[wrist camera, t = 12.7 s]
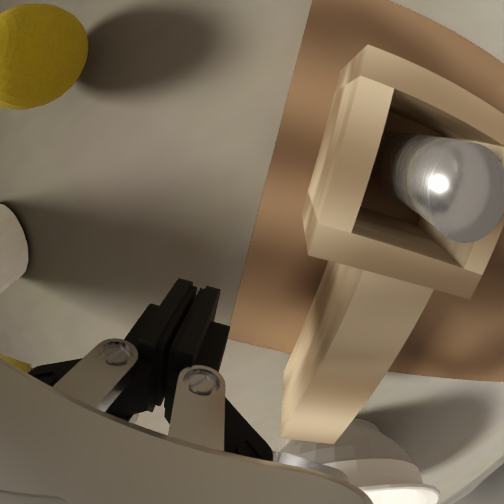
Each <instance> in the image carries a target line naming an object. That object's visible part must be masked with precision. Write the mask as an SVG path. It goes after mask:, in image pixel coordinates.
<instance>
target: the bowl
mask: <svg viewBox="0 0 504 504" xmlns="http://www.w3.org/2000/svg"><path fill="white" fill-rule="evenodd" d="M282 451H283V452H286V453H289V454H292V455H295V456H298V457H301V458H304V459H307V460H310V461H313V462H317V463H320V464H323V465H327V466H330V467H334V468H337V469H339V470H341V471H342V472H343V473H345V474H346V475H347V477H348V479H349V481H350V484H352V485H354V486H356V487H358V488H359V489H361V490H362V491H363V492H365V493H366V494H367V495H368V496H369V498H370V499H371V501H372V502H373V504H437V503H438V501H439V499H440V491H439V490H438V489H437V488H436V487H434V486H430V485H426V484H423V481H422V478H421V474H420V471H419V468H418V467H417V466H416V464H415V462H414V461H413V459H412V458H411V456H410V455H409V454H408V453H407V452H406V451H405V450H403V449H402V448H401V447H400V446H399V445H398V444H397V443H396V442H395V441H393V440H391V439H390V438H388V437H387V436H385V435H383V434H381V433H380V431H379V429H378V427H377V426H376V425H375V424H373V423H371V422H369V421H366V420H362V419H357V418H354V419H353V420H352V422H351V423H350V424H349V426H348V427H347V428H346V429H345V431H344V432H343V433H342V434H341V436H340V437H339V438H338V439H337V441H336V442H335V443H334V444H327V443H318V442H310V441H302V440H295V439H287V441H286V444H285V447H284V448H283V449H282V450H280V451H279V452H278V453H280V454H281V453H282Z"/></svg>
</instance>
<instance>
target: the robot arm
mask: <svg viewBox="0 0 504 504" xmlns="http://www.w3.org/2000/svg"><path fill="white" fill-rule="evenodd" d="M196 290H197V287H195V286H193V282H191V281H187V280H184V279H180V278H179V279H178V280H177V281H176V283H175V284H174V286H173V287H172V289H171V290H170V292H169V293H168V294H167V296H166V297H165V299H164V300H163V302H162V303H161V305H160V306H158V305H155V304H150V305H149V306H148V307H147V308H146V310H145V311H144V312H143V314H142V315H141V317H140V318H139V319H138V321H137V322H136V324H135V325H134V326H133V328H132V329H131V331H130V332H129V333H128V335H127V336H126V338H125V339H124V340H123V339H116V338H114V339H107V340H104V341H102V342H101V343H99V344H98V345H97V346H96V347H95V348H93V349H92V350H91V351H90V352H89V353H88V354H87V355H86V356H85V357H84V358H82V359H76V360H70V361H65V362H59V363H53V364H47V365H41V366H38V367H35V368H32V365H31V364H28V363H25V362H22V361H18V360H15V359H12V358H10V357H7V356H4V355H1V354H0V504H373V502H372V501H371V499H370V498H369V496H368V495H367V494H366V493H365V492H363V491H362V490H361V489H359V488H358V487H356V486H354V485H352V484H350V481H349V479H348V477H347V475H346V474H345V473H343V472H342V471H341V470H339V469H337V468H334V467H330V466H327V465H323V464H320V463H317V462H313V461H310V460H307V459H304V458H301V457H298V456H295V455H292V454H289V453H286V452H283V451H282V453H281V454H280V453H277V452H275V451H272V449H271V448H270V447H269V445H268V444H267V443H266V442H265V441H264V439H263V438H262V437H261V436H260V435H259V434H258V433H257V432H256V431H255V430H254V429H253V428H252V427H251V426H250V424H249V423H248V422H247V421H246V420H245V419H244V418H243V417H242V416H241V414H240V413H239V412H238V411H237V410H236V409H235V408H234V407H233V405H232V404H231V403H230V402H229V401H228V400H227V398H226V397H225V381H224V379H223V377H222V375H221V374H220V373H218V372H219V369H220V365H221V362H222V358H223V354H224V350H225V347H226V343H227V339H228V335H229V331H230V327H231V326H227V325H223V324H220V323H216V322H214V318H215V314H216V309H217V304H218V300H219V295H220V289H216V288H213V287H209V286H206V288H205V289H202V288H200V290H199V292H198V294H197V295H196ZM195 296H196V297H195ZM164 397H165V401H164V408H165V416H164V417H165V418H166V420H167V421H168V423H169V424H170V427H169V433H168V436H167V435H164V434H161V433H158V432H155V431H152V430H150V429H147V428H144V427H141V426H138V425H136V424H134V423H135V422H136V420H137V418H138V416H139V413H140V412H144V411H150V412H153V410H154V407H155V405H158V406H161V404H162V402H163V399H164Z"/></svg>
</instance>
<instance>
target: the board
mask: <svg viewBox="0 0 504 504" xmlns="http://www.w3.org/2000/svg"><path fill="white" fill-rule="evenodd" d="M367 45H371V46H373V47H376V48H379V49H381V50H384V51H386V52H389V53H391V54H394V55H396V56H398V57H401V58H403V59H405V60H408V61H410V62H412V63H414V64H417V65H419V66H421V67H423V68H425V69H427V70H429V71H431V72H433V73H435V74H437V75H439V76H441V77H443V78H445V79H447V80H449V81H450V82H452V83H454V84H456V85H458V86H460V87H461V88H463V89H465V90H467V91H468V92H470V93H472V94H473V95H475V96H477V97H478V98H480V99H481V100H483V101H485V102H486V103H488V104H489V105H491V106H492V107H494V108H495V109H497V110H498V111H500V112H501V113H503V114H504V64H503V63H502V62H501V61H499V60H498V59H496V58H495V57H494V56H492V55H491V54H489V53H488V52H486V51H485V50H483V49H482V48H480V47H479V46H477V45H475V44H474V43H472V42H471V41H469V40H467V39H466V38H464V37H462V36H461V35H459V34H457V33H455V32H454V31H452V30H450V29H448V28H446V27H444V26H443V25H441V24H439V23H437V22H435V21H433V20H431V19H429V18H427V17H425V16H423V15H421V14H419V13H416V12H414V11H412V10H410V9H408V8H405V7H403V6H401V5H398V4H396V3H394V2H391V1H389V0H313V1H312V5H311V8H310V12H309V16H308V20H307V24H306V28H305V31H304V35H303V39H302V43H301V47H300V51H299V55H298V58H297V62H296V66H295V70H294V74H293V78H292V82H291V85H290V89H289V93H288V97H287V101H286V105H285V109H284V113H283V117H282V120H281V124H280V128H279V132H278V136H277V140H276V144H275V148H274V152H273V156H272V160H271V163H270V167H269V171H268V175H267V179H266V183H265V187H264V191H263V195H262V199H261V203H260V207H259V211H258V215H257V219H256V223H255V226H254V230H253V234H252V238H251V242H250V246H249V250H248V254H247V258H246V262H245V266H244V270H243V274H242V278H241V282H240V286H239V290H238V294H237V298H236V302H235V306H234V310H233V314H232V318H231V322H230V326H231V327H230V331H229V335H228V339H231V340H235V341H239V342H243V343H247V344H251V345H255V346H259V347H263V348H268V349H272V350H276V351H281V352H285V353H290V354H292V352H293V349H294V347H295V345H296V342H297V340H298V338H299V335H300V333H301V330H302V328H303V325H304V323H305V320H306V318H307V315H308V313H309V310H310V308H311V305H312V303H313V300H314V298H315V295H316V292H317V290H318V287H319V285H320V282H321V279H322V277H323V274H324V271H325V269H326V266H327V263H328V260H324V259H321V258H317V257H313V256H309V255H308V250H307V244H306V238H305V231H304V225H303V219H302V209H303V206H304V202H305V199H306V196H307V192H308V189H309V185H310V182H311V178H312V175H313V171H314V168H315V164H316V161H317V157H318V154H319V150H320V146H321V143H322V139H323V135H324V132H325V128H326V124H327V121H328V117H329V113H330V109H331V105H332V102H333V98H334V94H335V90H336V86H337V82H338V78H339V74H340V70H341V69H343V68H344V67H345V66H346V65H347V64H348V63H349V62H350V61H351V60H352V59H353V58H354V57H355V56H356V55H357V54H358V53H359V52H360V51H361V50H362V49H363V48H365V47H366V46H367ZM389 131H395V132H405V133H414V134H422V135H430V136H437V137H444V138H446V136H444V135H442V134H440V133H438V132H436V131H434V130H432V129H429V128H427V127H425V126H423V125H421V124H418V123H416V122H414V121H412V120H409V119H407V118H404V117H402V116H400V115H397V114H395V113H392V112H390V111H388V115H387V119H386V123H385V126H384V130H383V133H384V132H389ZM360 207H364V208H367V209H370V210H373V211H376V212H379V213H382V214H385V215H388V216H391V217H394V218H397V219H400V220H403V221H406V222H409V223H412V224H414V225H418V222H419V220H420V217H421V216H420V215H419V214H417V213H416V212H415V211H414V210H412V209H411V208H410V207H408V206H407V205H406V204H404V203H403V202H402V201H400V200H399V199H397V198H396V197H395V196H393V195H392V194H391V193H389V192H388V191H386V190H385V189H384V188H382V187H381V186H379V185H378V184H377V183H375V182H374V180H373V179H372V178H371V176H370V178H369V181H368V184H367V187H366V190H365V194H364V197H363V200H362V203H361V206H360ZM388 371H391V372H398V373H406V374H414V375H422V376H431V377H441V378H452V379H464V380H478V381H496V382H504V225H503V228H502V230H501V233H500V236H499V238H498V241H497V243H496V245H495V248H494V250H493V252H492V255H491V257H490V259H489V262H488V264H487V266H486V268H485V270H484V273H483V275H482V277H481V279H480V281H479V283H478V285H477V287H476V289H475V291H474V293H473V295H472V297H471V299H467V298H464V297H460V296H457V295H453V294H449V293H446V292H442V291H439V290H435V289H434V290H433V292H432V294H431V296H430V298H429V300H428V302H427V304H426V306H425V308H424V310H423V312H422V313H421V315H420V317H419V319H418V321H417V323H416V324H415V326H414V328H413V330H412V332H411V333H410V335H409V337H408V338H407V340H406V342H405V344H404V345H403V347H402V349H401V350H400V352H399V353H398V355H397V357H396V358H395V360H394V362H393V363H392V365H391V366H390V368H389V369H388Z"/></svg>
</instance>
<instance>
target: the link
mask: <svg viewBox="0 0 504 504" xmlns="http://www.w3.org/2000/svg"><path fill="white" fill-rule="evenodd" d="M388 111H390V112H392V113H395V114H397V115H400V116H402V117H404V118H407V119H409V120H412V121H414V122H416V123H418V124H421V125H423V126H425V127H427V128H429V129H432V130H434V131H436V132H438V133H440V134H442V135H444V136H446V138H450V139H456V140H462V141H468V142H473V143H478V144H481V145H483V146H486V147H487V148H489V149H490V150H491V151H492V152H493V153H494V154H495V155H496V156H497V157H498V159H499V160H500V162H501V164H502V166H503V168H504V114H503V113H501V112H500V111H498V110H497V109H495V108H494V107H492V106H491V105H489V104H488V103H486V102H485V101H483V100H481V99H480V98H478V97H477V96H475V95H473V94H472V93H470V92H468V91H467V90H465V89H463V88H461V87H460V86H458V85H456V84H454V83H452V82H450V81H449V80H447V79H445V78H443V77H441V76H439V75H437V74H435V73H433V72H431V71H429V70H427V69H425V68H423V67H421V66H419V65H417V64H414V63H412V62H410V61H408V60H405V59H403V58H401V57H398V56H396V55H394V54H391V53H389V52H386V51H384V50H381V49H379V48H376V47H373V46H371V45H367V46H366V47H365V48H363V49H362V50H361V51H360V52H359V53H358V54H357V55H356V56H355V57H354V58H353V59H352V60H351V61H350V62H349V63H348V64H347V65H346V66H345V67H344V68H343V69H341V70H340V74H339V78H338V82H337V86H336V90H335V94H334V98H333V102H332V105H331V109H330V113H329V117H328V121H327V124H326V128H325V132H324V135H323V139H322V143H321V146H320V150H319V154H318V157H317V161H316V164H315V168H314V171H313V175H312V178H311V182H310V185H309V189H308V192H307V196H306V199H305V202H304V206H303V209H302V219H303V225H304V231H305V238H306V244H307V250H308V255H309V256H313V257H317V258H321V259H324V260H328V263H327V266H326V269H325V271H324V274H323V277H322V279H321V282H320V285H319V287H318V290H317V292H316V295H315V298H314V300H313V303H312V305H311V308H310V310H309V313H308V315H307V318H306V320H305V323H304V325H303V328H302V330H301V333H300V335H299V338H298V340H297V342H296V345H295V347H294V349H293V352H292V354H291V357H290V359H289V361H288V363H287V366H286V368H285V370H284V373H283V392H282V413H281V432H280V437H282V438H288V439H295V440H302V441H310V442H318V443H327V444H334V443H335V442H336V441H337V439H338V438H339V437H340V436H341V434H342V433H343V432H344V431H345V429H346V428H347V427H348V426H349V424H350V423H351V422H352V420H353V419H354V418H355V416H356V415H357V414H358V412H359V411H360V410H361V408H362V407H363V406H364V404H365V403H366V402H367V400H368V399H369V397H370V396H371V395H372V393H373V392H374V390H375V389H376V387H377V386H378V384H379V383H380V381H381V380H382V378H383V377H384V375H385V374H386V372H387V371H388V369H389V368H390V366H391V365H392V363H393V362H394V360H395V358H396V357H397V355H398V353H399V352H400V350H401V349H402V347H403V345H404V344H405V342H406V340H407V338H408V337H409V335H410V333H411V332H412V330H413V328H414V326H415V324H416V323H417V321H418V319H419V317H420V315H421V313H422V312H423V310H424V308H425V306H426V304H427V302H428V300H429V298H430V296H431V294H432V292H433V290H434V289H435V290H439V291H442V292H446V293H449V294H453V295H457V296H460V297H464V298H467V299H471V297H472V295H473V293H474V291H475V289H476V287H477V285H478V283H479V281H480V279H481V277H482V275H483V273H484V270H485V268H486V266H487V264H488V262H489V259H490V257H491V255H492V252H493V250H494V248H495V245H496V243H497V241H498V238H499V236H500V233H501V230H502V228H503V225H504V212H503V214H502V217H501V218H500V220H499V222H498V224H497V225H496V227H495V228H494V229H493V230H492V231H491V232H490V233H489V234H488V235H487V236H485V237H484V238H482V239H480V240H478V241H475V242H472V243H459V242H455V241H453V240H451V239H449V238H448V237H446V236H445V235H444V234H443V233H441V232H440V231H439V230H438V229H437V228H435V227H434V226H433V225H432V224H430V223H429V222H428V221H426V220H425V219H424V218H423V217H420V220H419V222H418V225H414V224H412V223H409V222H406V221H403V220H400V219H397V218H394V217H391V216H388V215H385V214H382V213H379V212H376V211H373V210H370V209H367V208H364V207H360V206H361V203H362V200H363V197H364V194H365V190H366V187H367V184H368V181H369V178H370V175H371V171H372V168H373V165H374V161H375V158H376V155H377V151H378V148H379V144H380V141H381V137H382V134H383V130H384V126H385V123H386V119H387V115H388Z"/></svg>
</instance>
